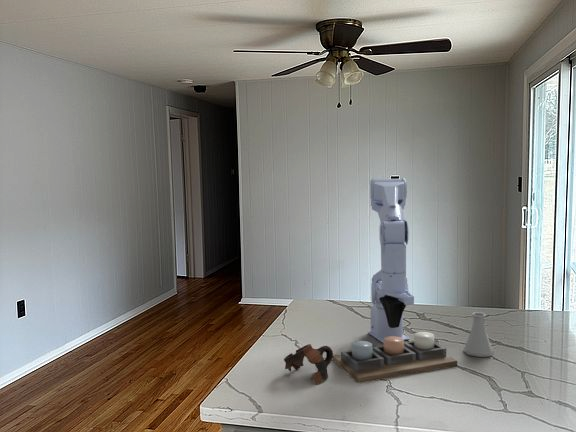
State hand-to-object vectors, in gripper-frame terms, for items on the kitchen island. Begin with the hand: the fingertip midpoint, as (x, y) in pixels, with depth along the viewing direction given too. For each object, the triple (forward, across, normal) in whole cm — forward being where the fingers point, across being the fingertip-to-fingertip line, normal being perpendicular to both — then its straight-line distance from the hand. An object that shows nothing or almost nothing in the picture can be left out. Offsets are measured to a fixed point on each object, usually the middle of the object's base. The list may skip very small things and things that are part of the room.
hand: (393, 326), depth 125 cm
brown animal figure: (+9, -1, -21) cm, 23 cm away
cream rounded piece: (+6, 0, +8) cm, 11 cm away
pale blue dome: (+6, 0, -8) cm, 11 cm away
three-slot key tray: (+9, 0, 0) cm, 9 cm away
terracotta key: (+6, 0, 0) cm, 6 cm away
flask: (+9, +2, +23) cm, 25 cm away
